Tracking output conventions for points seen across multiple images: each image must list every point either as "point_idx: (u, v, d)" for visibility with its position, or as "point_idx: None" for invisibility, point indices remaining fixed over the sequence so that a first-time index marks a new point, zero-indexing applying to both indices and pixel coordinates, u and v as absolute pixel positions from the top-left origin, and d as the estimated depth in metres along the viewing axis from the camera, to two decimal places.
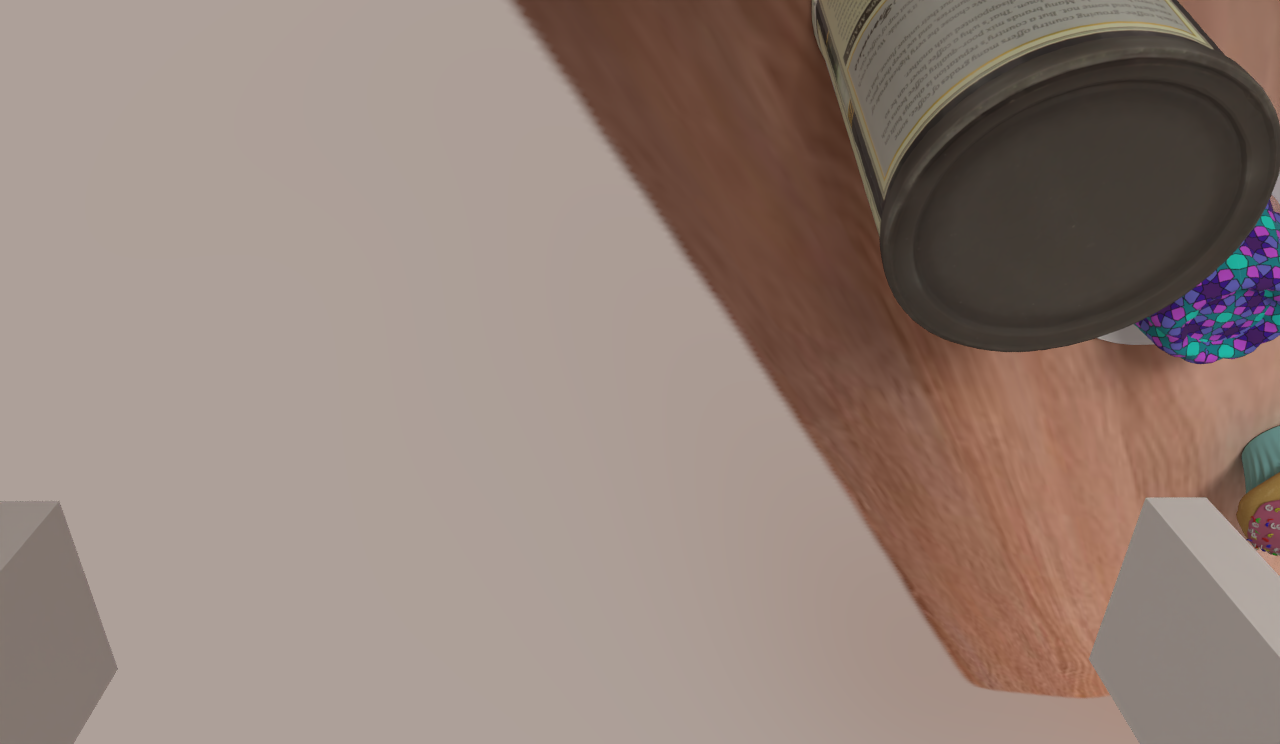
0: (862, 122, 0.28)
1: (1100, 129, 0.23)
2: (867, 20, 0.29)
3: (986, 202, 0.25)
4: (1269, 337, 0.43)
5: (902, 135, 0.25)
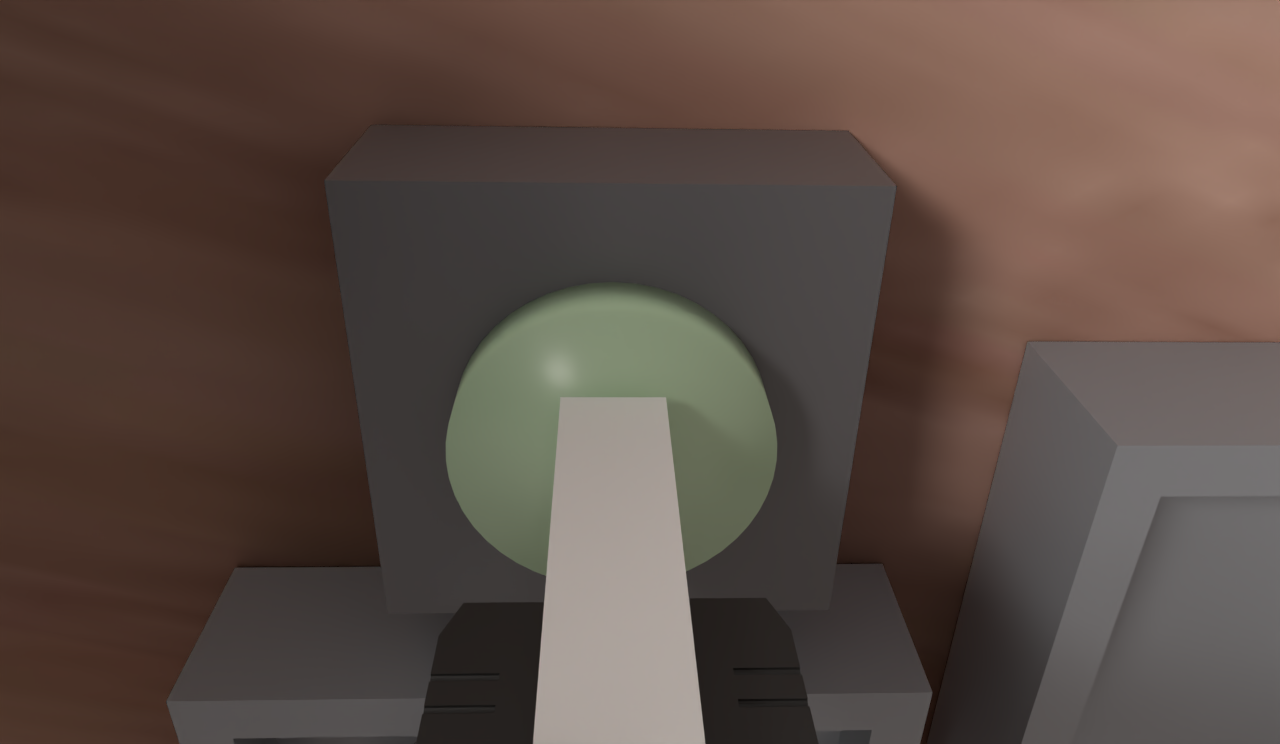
0: None
1: None
2: None
3: None
4: None
5: None
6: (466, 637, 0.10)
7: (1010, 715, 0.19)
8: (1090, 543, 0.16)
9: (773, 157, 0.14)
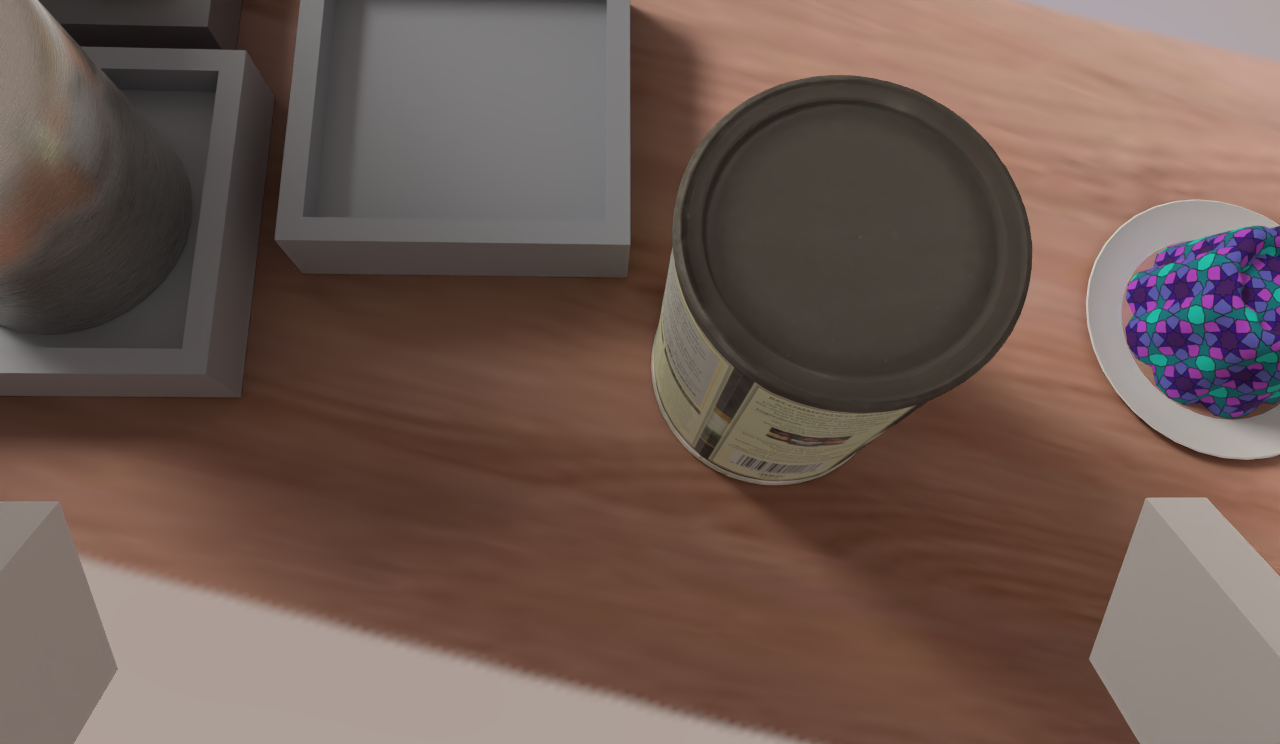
0: (713, 391, 0.30)
1: (768, 178, 0.27)
2: (674, 373, 0.33)
3: (776, 281, 0.26)
4: None
5: (694, 328, 0.27)
6: None
7: None
8: None
9: None
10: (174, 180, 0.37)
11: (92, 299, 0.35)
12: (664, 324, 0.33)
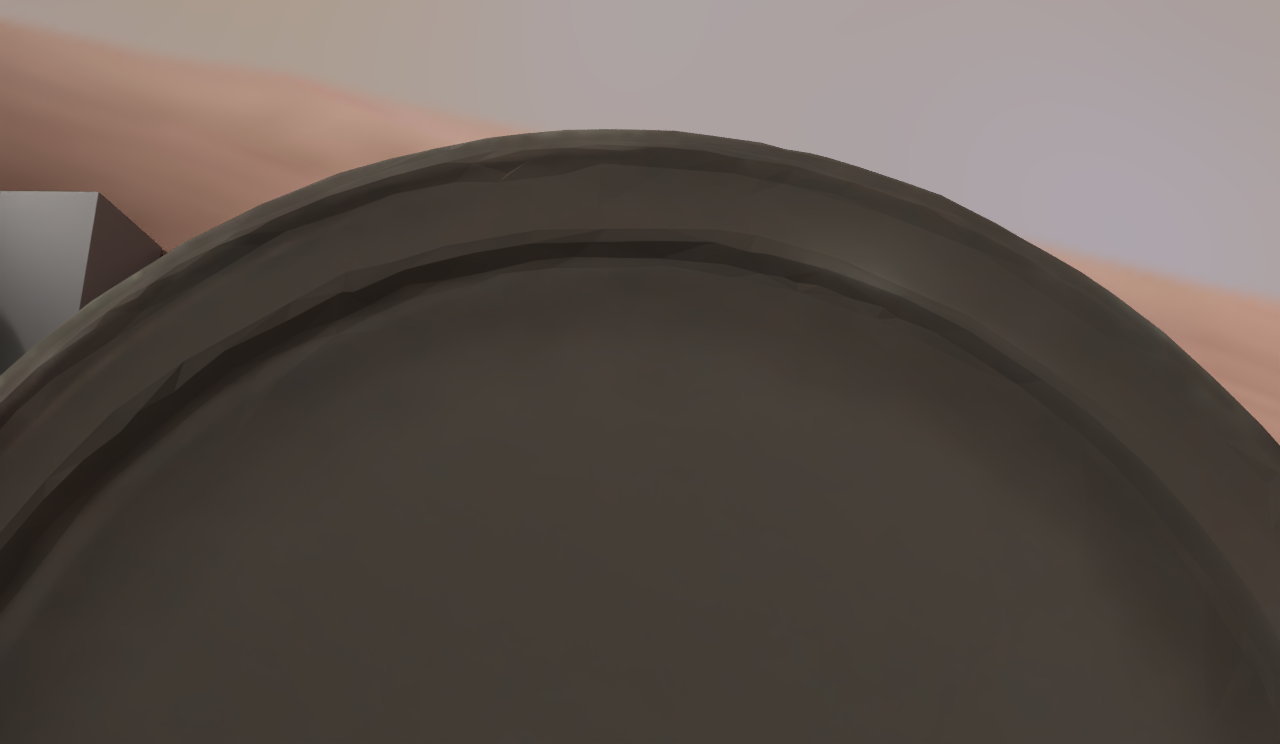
0: None
1: (224, 648, 0.06)
2: None
3: None
4: None
5: None
6: None
7: None
8: None
9: None
10: None
11: None
12: None
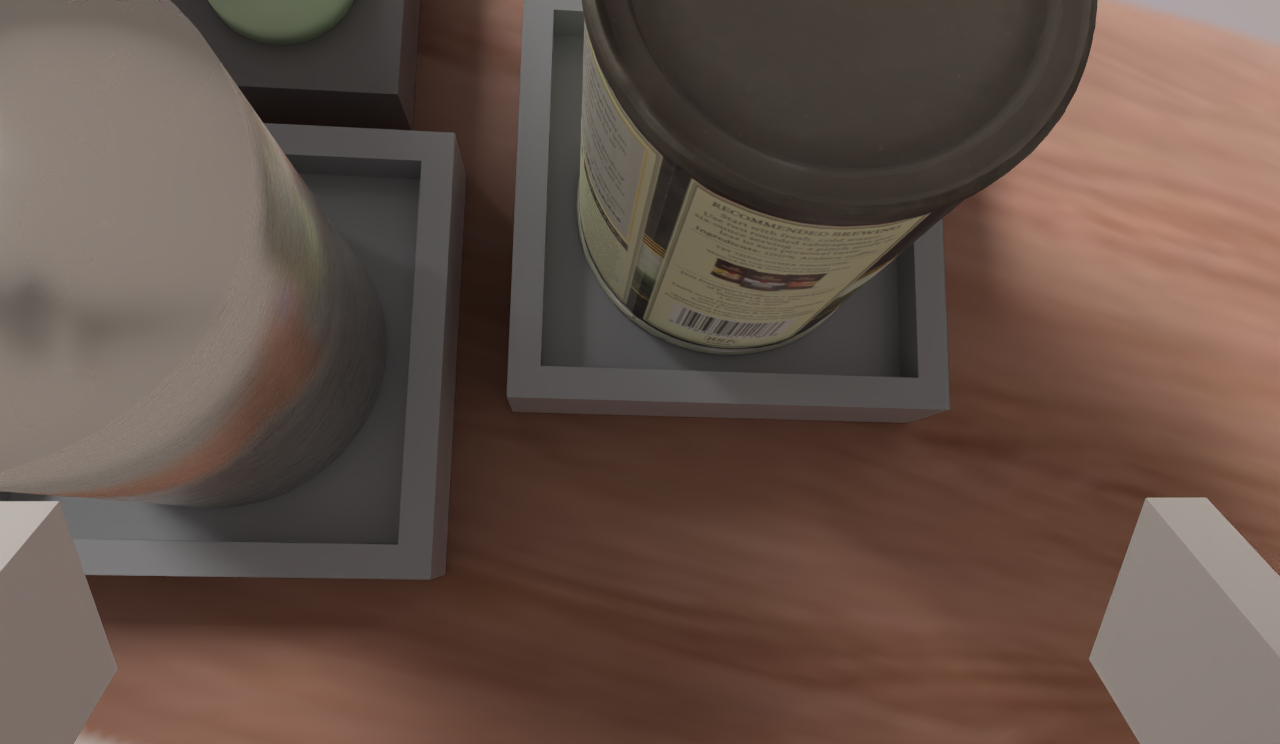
0: (640, 208, 0.22)
1: None
2: (595, 193, 0.25)
3: (728, 28, 0.18)
4: None
5: (610, 104, 0.19)
6: None
7: None
8: (524, 34, 0.31)
9: None
10: (377, 323, 0.29)
11: (274, 485, 0.27)
12: (582, 125, 0.24)
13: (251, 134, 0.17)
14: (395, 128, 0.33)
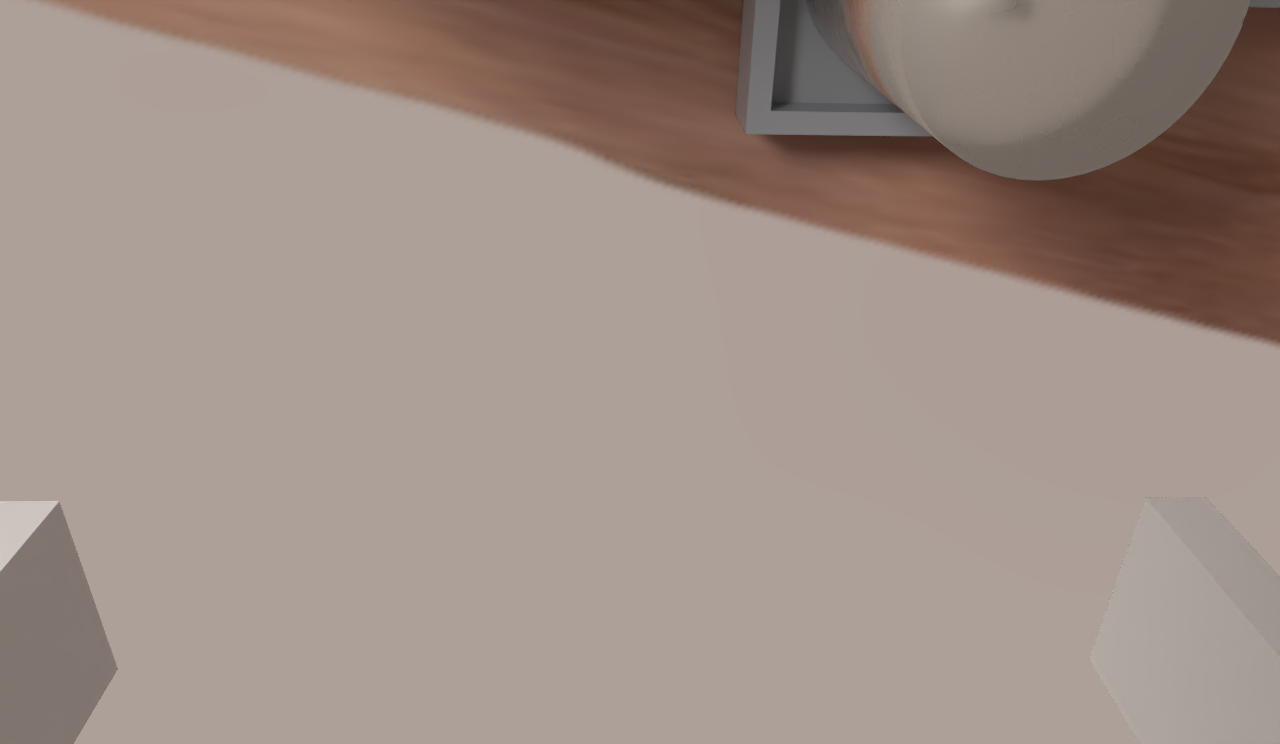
0: None
1: None
2: None
3: None
4: None
5: None
6: None
7: None
8: None
9: None
10: None
11: None
12: None
13: None
14: None
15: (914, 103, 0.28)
